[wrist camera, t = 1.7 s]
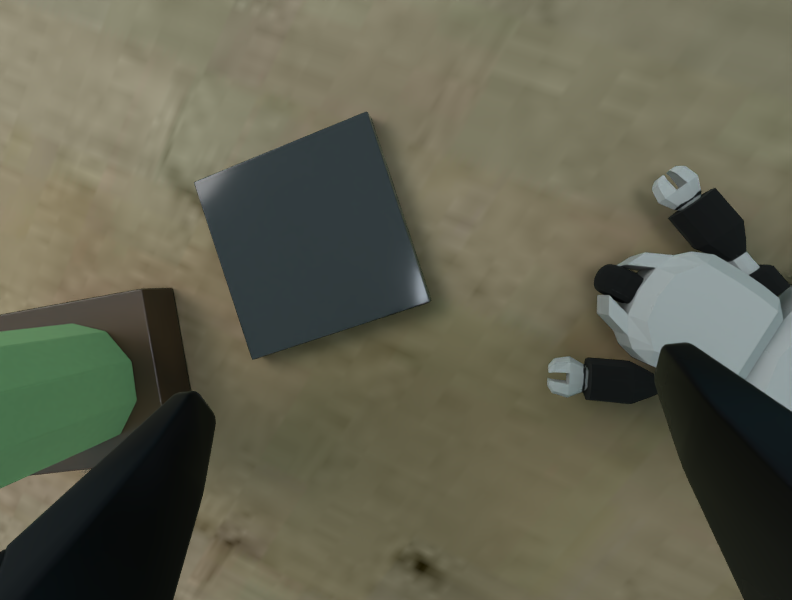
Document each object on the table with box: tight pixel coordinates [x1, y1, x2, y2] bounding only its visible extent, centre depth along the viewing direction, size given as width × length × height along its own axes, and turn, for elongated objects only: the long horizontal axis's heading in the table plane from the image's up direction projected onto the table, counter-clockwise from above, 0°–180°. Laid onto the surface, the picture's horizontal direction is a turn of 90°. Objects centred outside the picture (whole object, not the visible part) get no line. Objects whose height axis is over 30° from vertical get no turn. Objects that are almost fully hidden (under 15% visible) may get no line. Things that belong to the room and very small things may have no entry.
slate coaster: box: [194, 112, 431, 360], centre depth 24 cm, size 10×10×1 cm
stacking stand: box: [0, 288, 190, 476], centre depth 23 cm, size 9×9×7 cm
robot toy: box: [547, 166, 792, 411], centre depth 19 cm, size 12×4×15 cm
